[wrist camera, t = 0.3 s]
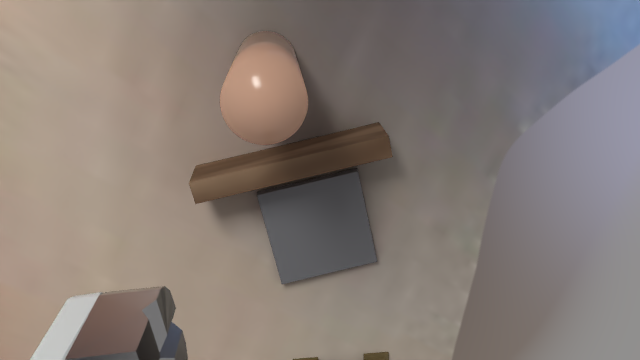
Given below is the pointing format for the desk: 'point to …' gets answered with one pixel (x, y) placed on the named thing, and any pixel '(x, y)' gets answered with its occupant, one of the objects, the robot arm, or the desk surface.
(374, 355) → the eiffel tower
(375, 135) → the bar
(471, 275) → the desk surface
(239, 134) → the wooden peg
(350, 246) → the rubber mat
